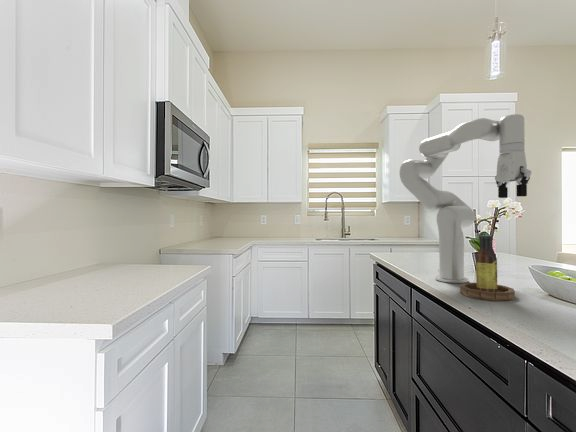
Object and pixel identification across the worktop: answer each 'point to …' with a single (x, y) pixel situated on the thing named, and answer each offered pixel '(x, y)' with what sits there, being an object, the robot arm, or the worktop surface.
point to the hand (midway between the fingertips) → (511, 197)
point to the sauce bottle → (486, 266)
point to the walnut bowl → (501, 294)
